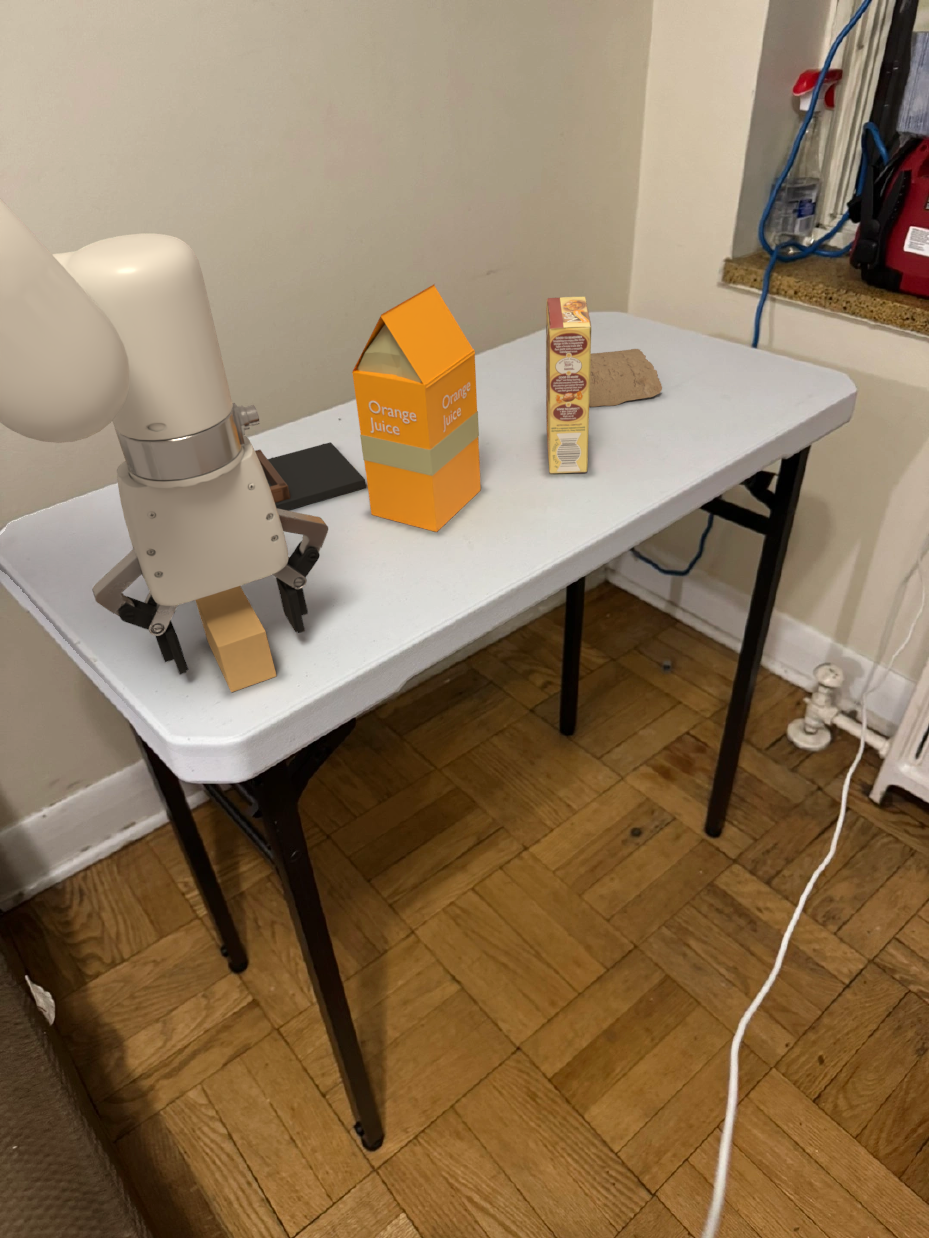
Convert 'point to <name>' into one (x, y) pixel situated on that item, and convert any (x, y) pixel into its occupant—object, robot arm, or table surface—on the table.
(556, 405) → the candy box
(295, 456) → the back pad
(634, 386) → the clay tablet
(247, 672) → the brown block
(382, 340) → the orange juice
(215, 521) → the robot arm
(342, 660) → the table surface
